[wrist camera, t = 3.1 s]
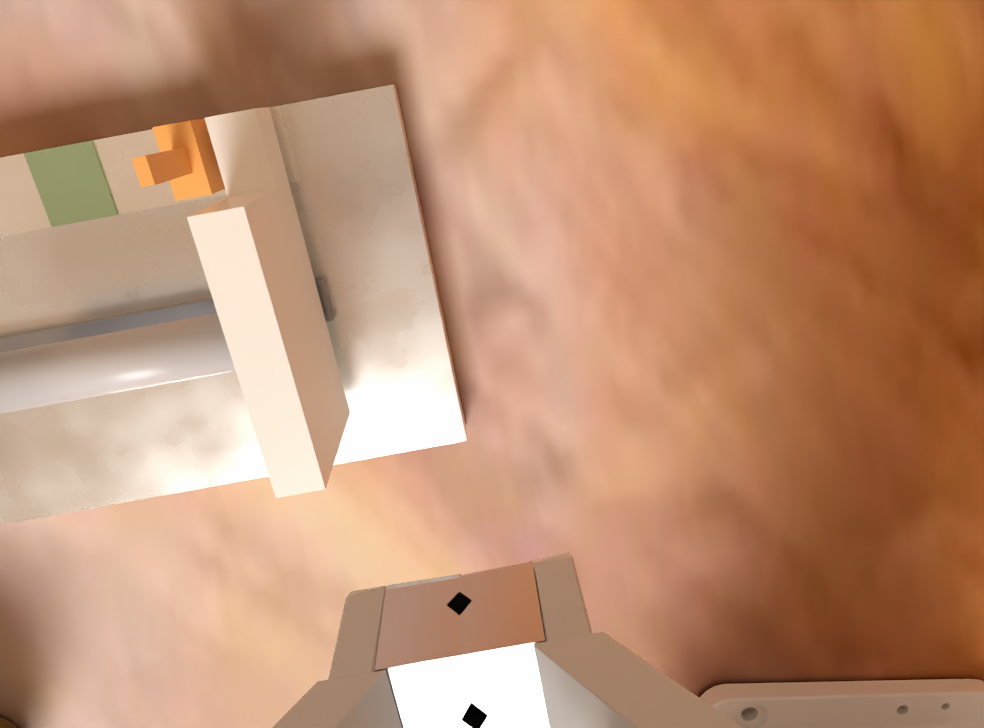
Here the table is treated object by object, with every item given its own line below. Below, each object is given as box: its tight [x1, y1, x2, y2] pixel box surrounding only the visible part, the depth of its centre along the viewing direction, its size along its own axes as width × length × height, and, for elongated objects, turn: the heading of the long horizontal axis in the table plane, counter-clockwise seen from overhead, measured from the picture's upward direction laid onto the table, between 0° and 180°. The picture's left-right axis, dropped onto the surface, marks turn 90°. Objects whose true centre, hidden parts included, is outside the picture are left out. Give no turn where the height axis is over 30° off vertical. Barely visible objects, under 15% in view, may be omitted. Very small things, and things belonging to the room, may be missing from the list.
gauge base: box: [0, 84, 467, 525], centre depth 26 cm, size 28×14×8 cm, turn 100°
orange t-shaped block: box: [131, 119, 225, 201], centre depth 23 cm, size 1×2×6 cm, turn 10°
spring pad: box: [0, 107, 350, 498], centre depth 24 cm, size 11×12×6 cm
